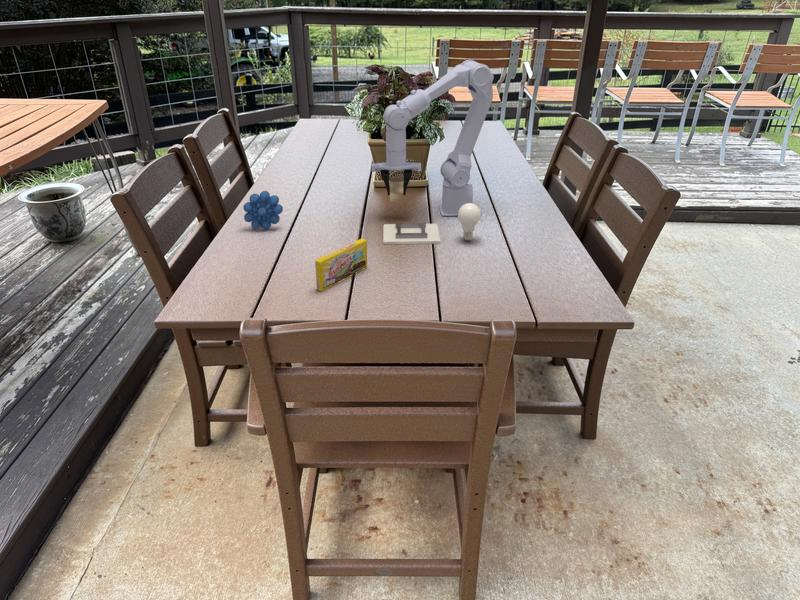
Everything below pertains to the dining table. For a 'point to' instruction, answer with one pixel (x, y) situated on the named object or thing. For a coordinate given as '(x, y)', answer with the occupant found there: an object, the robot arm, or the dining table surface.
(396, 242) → the socket board
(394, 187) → the birch block
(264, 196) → the blue knobbed flower
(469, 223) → the lightbulb
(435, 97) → the robot arm
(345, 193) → the dining table surface
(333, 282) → the candy box
